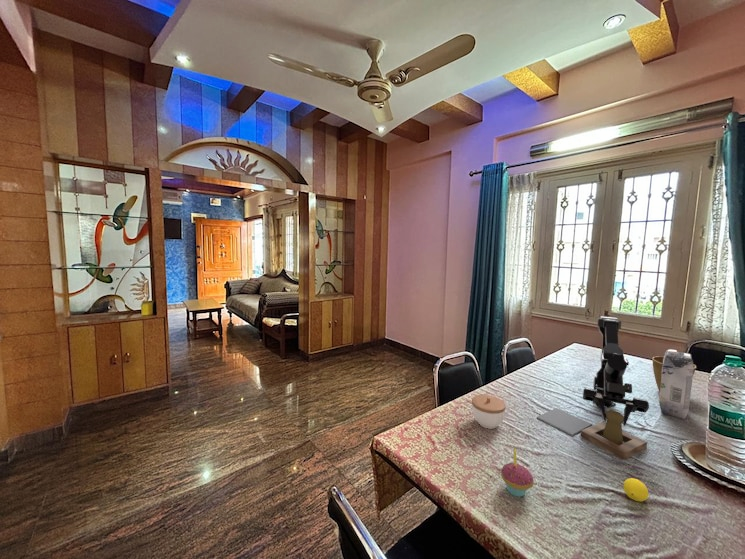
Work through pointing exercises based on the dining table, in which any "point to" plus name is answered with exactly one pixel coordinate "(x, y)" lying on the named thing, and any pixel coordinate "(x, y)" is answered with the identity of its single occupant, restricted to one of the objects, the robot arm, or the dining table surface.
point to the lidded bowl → (488, 410)
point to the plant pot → (660, 369)
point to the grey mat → (564, 421)
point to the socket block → (621, 451)
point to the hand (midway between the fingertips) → (614, 423)
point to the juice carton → (676, 383)
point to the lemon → (635, 489)
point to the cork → (614, 427)
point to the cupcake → (516, 478)
